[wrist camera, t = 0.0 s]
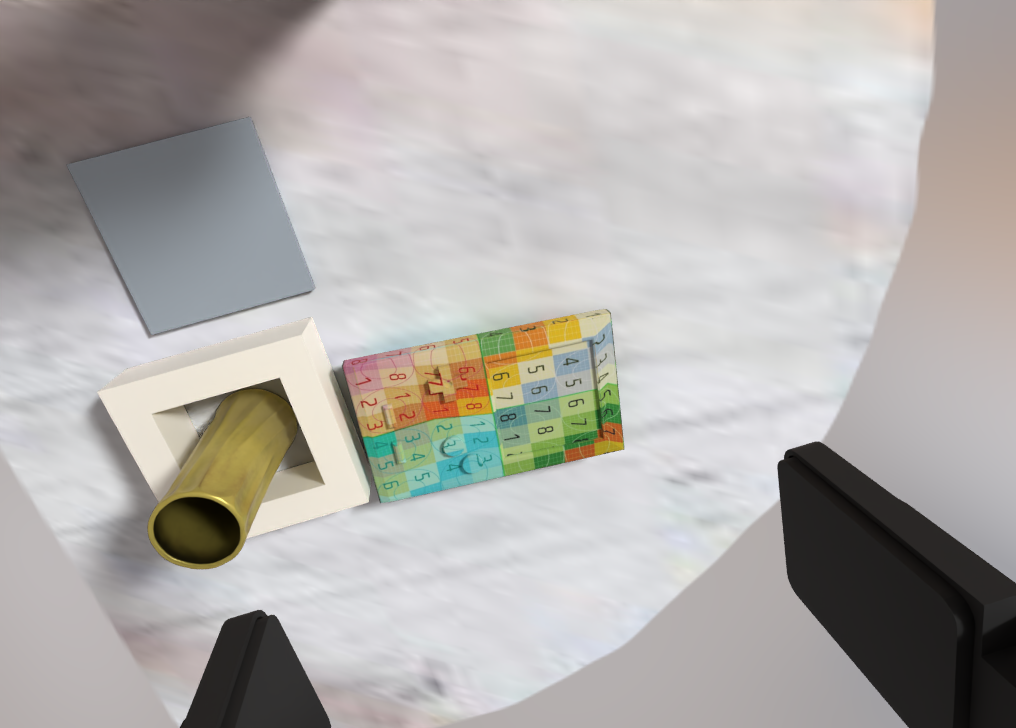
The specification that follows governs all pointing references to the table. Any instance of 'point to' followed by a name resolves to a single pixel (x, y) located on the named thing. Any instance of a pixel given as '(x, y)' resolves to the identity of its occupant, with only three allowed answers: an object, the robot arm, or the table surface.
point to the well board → (231, 366)
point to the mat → (195, 224)
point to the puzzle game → (487, 404)
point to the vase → (223, 481)
